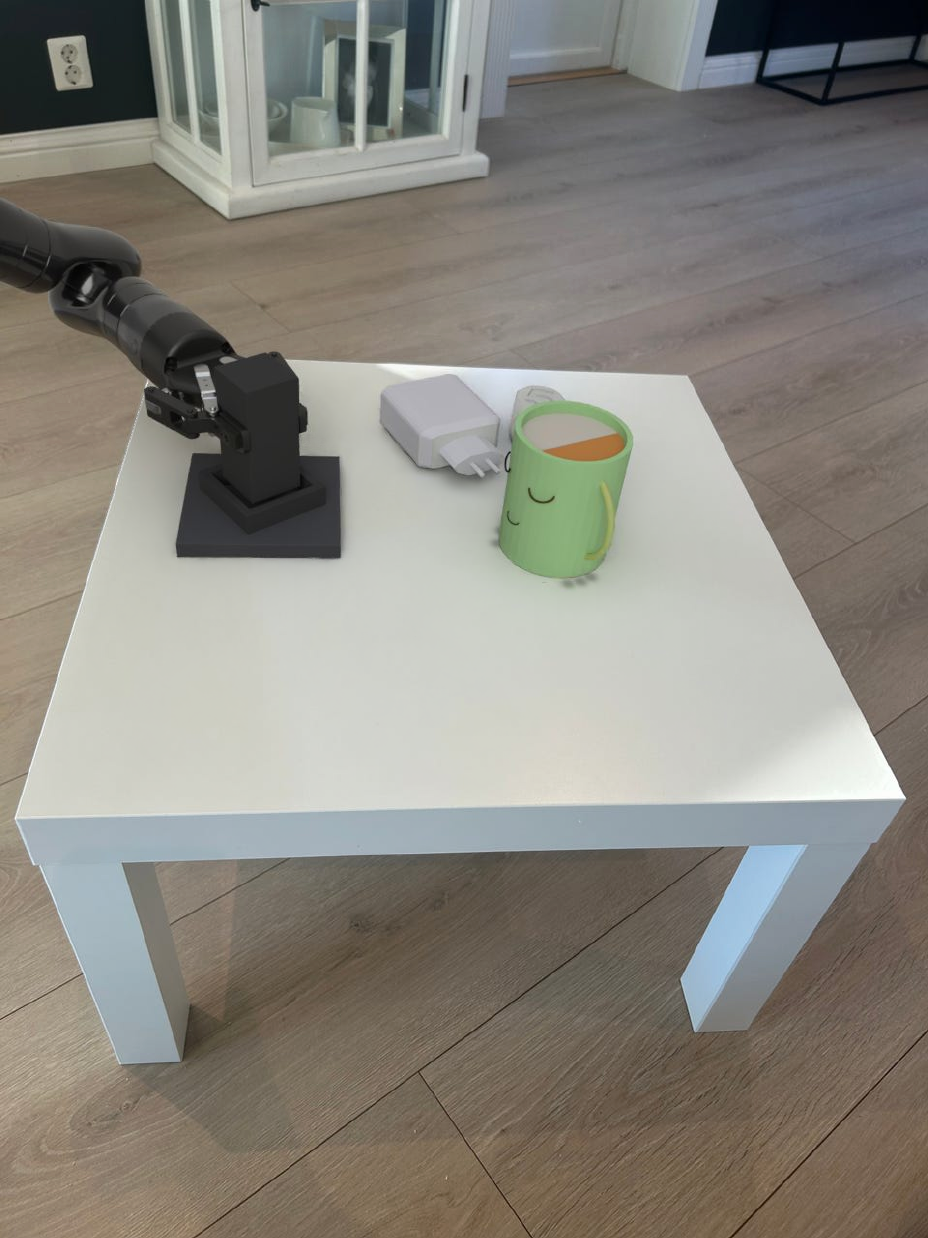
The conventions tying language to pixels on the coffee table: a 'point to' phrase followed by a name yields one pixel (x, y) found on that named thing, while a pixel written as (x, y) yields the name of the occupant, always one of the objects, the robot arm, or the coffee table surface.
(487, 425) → the charger
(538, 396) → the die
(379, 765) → the coffee table surface
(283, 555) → the base pad
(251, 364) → the tall black rectangular block
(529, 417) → the mug
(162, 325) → the robot arm
